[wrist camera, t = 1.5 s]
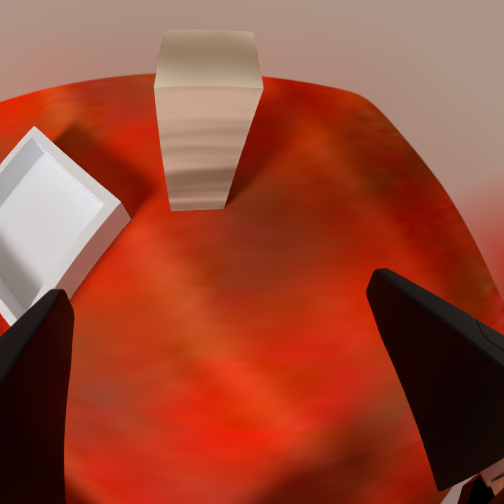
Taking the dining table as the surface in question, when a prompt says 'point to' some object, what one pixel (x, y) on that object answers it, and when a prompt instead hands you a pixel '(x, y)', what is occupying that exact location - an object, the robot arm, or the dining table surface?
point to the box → (49, 224)
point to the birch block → (204, 112)
